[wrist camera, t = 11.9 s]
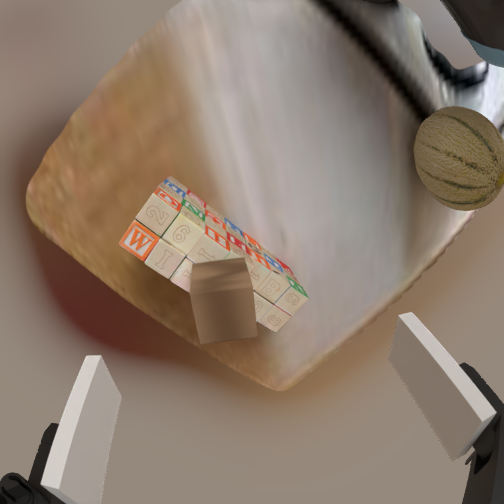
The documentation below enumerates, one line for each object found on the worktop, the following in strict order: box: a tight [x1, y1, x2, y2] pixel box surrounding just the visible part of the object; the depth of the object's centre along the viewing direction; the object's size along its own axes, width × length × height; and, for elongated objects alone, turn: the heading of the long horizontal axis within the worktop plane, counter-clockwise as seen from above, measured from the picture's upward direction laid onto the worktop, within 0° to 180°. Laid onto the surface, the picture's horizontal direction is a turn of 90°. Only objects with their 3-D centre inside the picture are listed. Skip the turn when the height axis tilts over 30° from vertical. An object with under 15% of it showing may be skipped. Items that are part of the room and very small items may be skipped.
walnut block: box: [190, 257, 258, 344], centre depth 28 cm, size 5×5×6 cm
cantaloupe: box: [414, 106, 504, 211], centre depth 34 cm, size 15×15×15 cm
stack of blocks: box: [119, 176, 309, 333], centre depth 36 cm, size 21×6×12 cm, turn 50°
